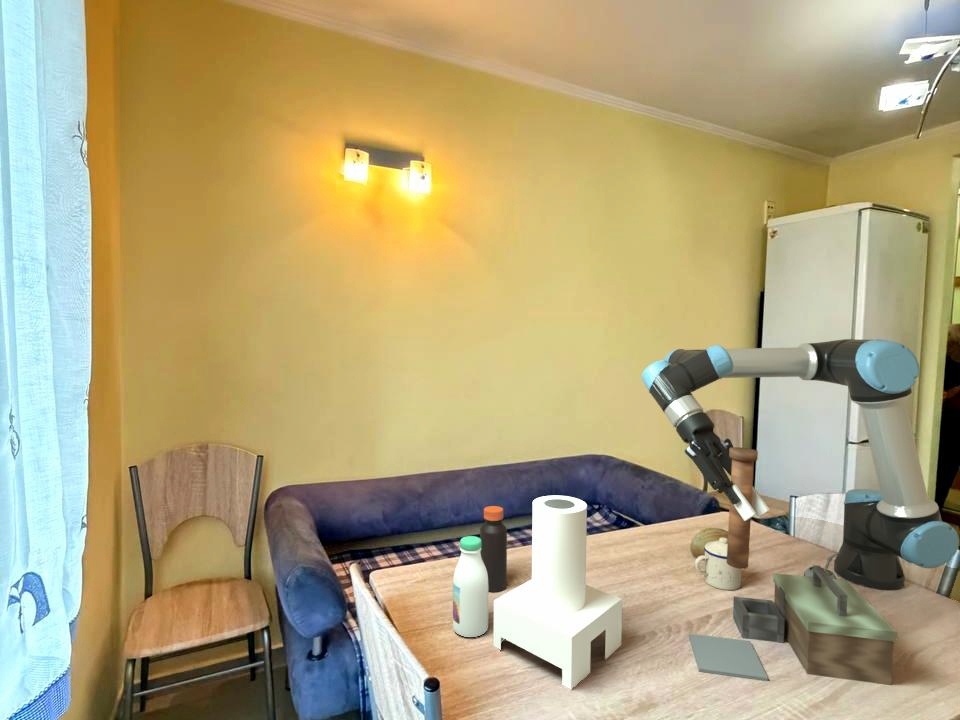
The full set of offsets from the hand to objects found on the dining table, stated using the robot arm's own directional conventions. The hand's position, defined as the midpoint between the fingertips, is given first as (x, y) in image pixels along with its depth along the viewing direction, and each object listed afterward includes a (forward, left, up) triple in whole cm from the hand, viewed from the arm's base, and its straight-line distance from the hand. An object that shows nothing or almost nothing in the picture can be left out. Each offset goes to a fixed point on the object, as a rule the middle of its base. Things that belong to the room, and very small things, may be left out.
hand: (757, 515), depth 106 cm
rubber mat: (+6, +3, -28) cm, 29 cm away
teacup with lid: (+1, -30, -29) cm, 41 cm away
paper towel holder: (+39, +7, -29) cm, 49 cm away
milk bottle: (+58, +5, -29) cm, 65 cm away
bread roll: (-3, -47, -29) cm, 55 cm away
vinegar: (+57, -15, -29) cm, 65 cm away
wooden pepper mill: (+3, -3, -12) cm, 12 cm away
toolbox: (-11, -5, -28) cm, 31 cm away
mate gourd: (-21, -24, -29) cm, 43 cm away
